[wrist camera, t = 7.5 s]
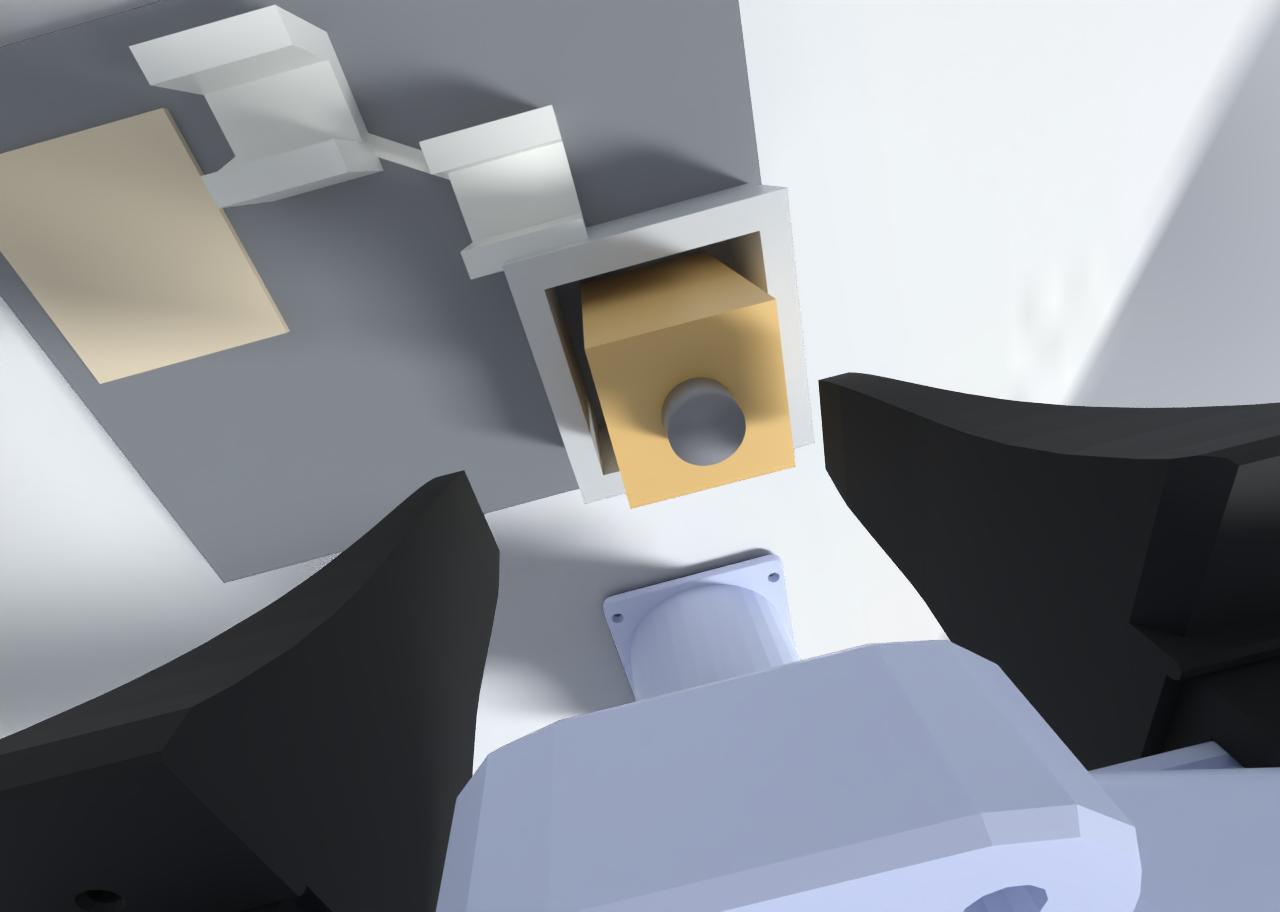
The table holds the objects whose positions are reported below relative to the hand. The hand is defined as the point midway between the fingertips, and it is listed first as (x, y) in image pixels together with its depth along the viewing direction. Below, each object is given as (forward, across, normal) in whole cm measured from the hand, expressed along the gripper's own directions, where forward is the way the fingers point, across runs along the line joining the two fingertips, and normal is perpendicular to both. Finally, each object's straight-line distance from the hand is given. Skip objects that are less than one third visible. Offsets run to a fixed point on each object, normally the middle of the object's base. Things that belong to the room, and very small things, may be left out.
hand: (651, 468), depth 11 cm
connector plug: (+8, -1, 0) cm, 9 cm away
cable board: (+9, +6, -3) cm, 11 cm away
